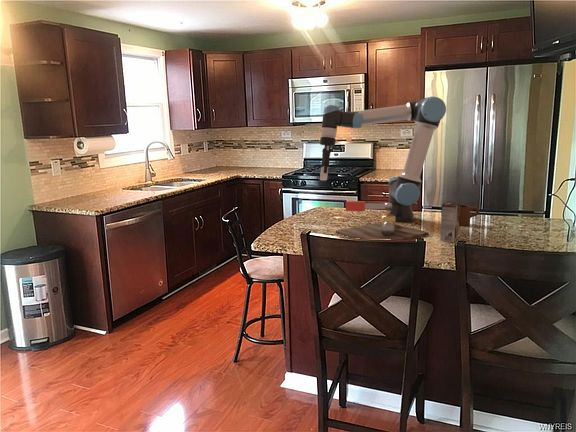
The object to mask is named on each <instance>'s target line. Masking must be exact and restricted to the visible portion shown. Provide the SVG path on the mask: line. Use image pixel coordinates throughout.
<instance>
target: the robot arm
mask: <svg viewBox="0 0 576 432" xmlns="http://www.w3.org/2000/svg"><path fill="white" fill-rule="evenodd" d="M446 112H447V107H446V103H445V102H444V100H443V99H441V98H439V97H437V96H428V97H424V98H421V99H417V100H414V101H409V102H407V103H406V104H402V105H400V104H399V105H395V106H394V105H393V106H387V107H379V108H372V109H371V108H370V109H363V110H357V111H343V110H340V106H338V105H333V104H328V105H325V106H324V108H323V114H322V122H321V129H320V130H319V132H320V139H319V144H320V146H324V147H323V148H322V151H321V152H322V156H321V157H322V158H321V164H320V165H321V167H320V173H319V174H320V176H319V181H324V182H325V181H327V180H328V173H329V166H330V157H331V152H332V147H335V145H336V141H337V139H336V138H337V132H338V127H341V128H349V129H361V128H362V126H366V125H374V124H383V123H390V122H400V121H408V122H414V123H415V126H416V127H415V131H414V133H413V138H412V141H411V144H410V147H409V149H408V150H409V151H408V154H407V158H406V161H405V163H404V167H403V171H402V173H400V174H399V175H398V176H391V177H389V179H388V203H392V209H390V214H391V215H395V222H397V223H399V222H400V223H402V222H410V221H411V222H412V221H414V220H415V214H414V212H413V208H412V205H414V204H415V203H417V202H418V201H419V199H420V197H421V190H420V189H421V185H422V180H421V178H420V177H421V174H422V170H423V168H424V165H425V160H426V158H427V154H428V151H429V147H430V144H431V141H432V138H433V135H434V132H435V130H437V129H439V125H440V123H441V120H442V119H443V118H444V116H445V114H446ZM385 214H387V212H386V213H385Z"/></svg>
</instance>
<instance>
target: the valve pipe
mask: <svg viewBox="0 0 576 432" xmlns="http://www.w3.org/2000/svg"><path fill="white" fill-rule="evenodd" d="M386 213H387V214H386ZM386 213H385V214H382V215H381V222H382V224H381V232H382V234H383V235H384V236H393V235H394V233H395V225H396V221H395V215H391V214H390V210H387V209H386Z"/></svg>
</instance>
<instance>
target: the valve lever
mask: <svg viewBox="0 0 576 432" xmlns="http://www.w3.org/2000/svg"><path fill="white" fill-rule="evenodd" d="M390 209H392V203H389V202H385V203H368V202H367V203H366V201H365V200H363V201H362V200H346V201H345V211H346V212H365V211H366V210H386V211H387V210H390Z"/></svg>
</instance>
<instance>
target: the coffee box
mask: <svg viewBox="0 0 576 432" xmlns="http://www.w3.org/2000/svg"><path fill="white" fill-rule="evenodd" d="M460 203H461V202H455V201H445V202H444V203H442V204H441V209H440V210H441V212H440V213H441V217H440V237H439V238H440V241H443V242H452V243H455V242H456V241H457V240H458V238H459V232H460V226H459V211H460V205H461V204H460Z"/></svg>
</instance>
